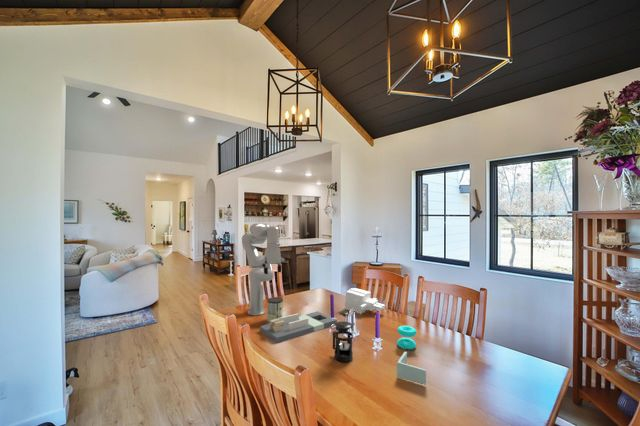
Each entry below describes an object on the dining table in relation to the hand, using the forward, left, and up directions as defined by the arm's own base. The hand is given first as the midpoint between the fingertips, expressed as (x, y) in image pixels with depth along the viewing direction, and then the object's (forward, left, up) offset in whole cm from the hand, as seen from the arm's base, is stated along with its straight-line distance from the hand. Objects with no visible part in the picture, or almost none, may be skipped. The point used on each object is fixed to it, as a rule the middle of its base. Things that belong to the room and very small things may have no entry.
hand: (272, 273), depth 181 cm
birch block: (+12, -3, -31) cm, 33 cm away
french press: (+56, +9, -34) cm, 66 cm away
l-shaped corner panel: (+87, +24, -35) cm, 97 cm away
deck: (+12, +13, -34) cm, 38 cm away
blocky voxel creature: (+16, +70, -34) cm, 79 cm away
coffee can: (-8, +7, -34) cm, 36 cm away
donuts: (+68, +46, -34) cm, 89 cm away
